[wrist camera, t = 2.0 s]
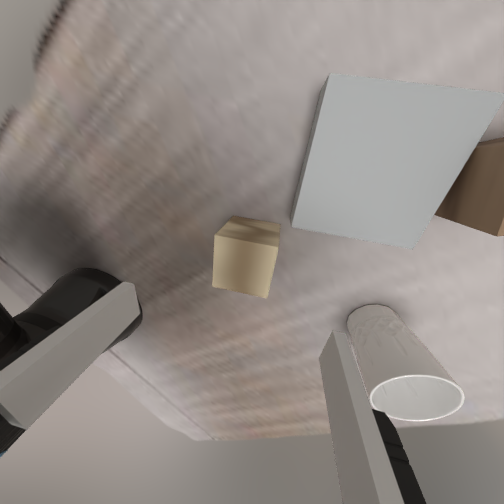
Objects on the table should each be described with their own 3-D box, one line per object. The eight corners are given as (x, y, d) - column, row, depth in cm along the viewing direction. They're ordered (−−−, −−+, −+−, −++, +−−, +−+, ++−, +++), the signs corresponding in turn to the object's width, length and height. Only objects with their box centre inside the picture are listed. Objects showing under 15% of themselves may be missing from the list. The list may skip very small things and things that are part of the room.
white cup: (366, 291, 25) (412, 363, 16) (416, 315, 25) (488, 399, 16) (331, 326, 28) (353, 401, 19) (375, 347, 29) (416, 429, 20)
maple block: (229, 256, 26) (212, 286, 20) (233, 215, 23) (214, 235, 17) (271, 265, 25) (267, 298, 19) (280, 224, 23) (278, 247, 16)
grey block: (290, 216, 22) (291, 227, 19) (320, 91, 17) (329, 72, 13) (391, 235, 21) (412, 249, 18) (458, 108, 16) (508, 93, 12)
